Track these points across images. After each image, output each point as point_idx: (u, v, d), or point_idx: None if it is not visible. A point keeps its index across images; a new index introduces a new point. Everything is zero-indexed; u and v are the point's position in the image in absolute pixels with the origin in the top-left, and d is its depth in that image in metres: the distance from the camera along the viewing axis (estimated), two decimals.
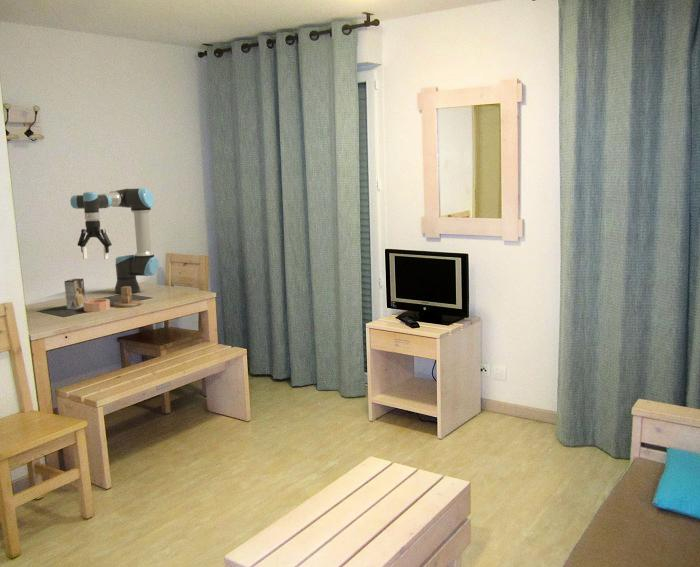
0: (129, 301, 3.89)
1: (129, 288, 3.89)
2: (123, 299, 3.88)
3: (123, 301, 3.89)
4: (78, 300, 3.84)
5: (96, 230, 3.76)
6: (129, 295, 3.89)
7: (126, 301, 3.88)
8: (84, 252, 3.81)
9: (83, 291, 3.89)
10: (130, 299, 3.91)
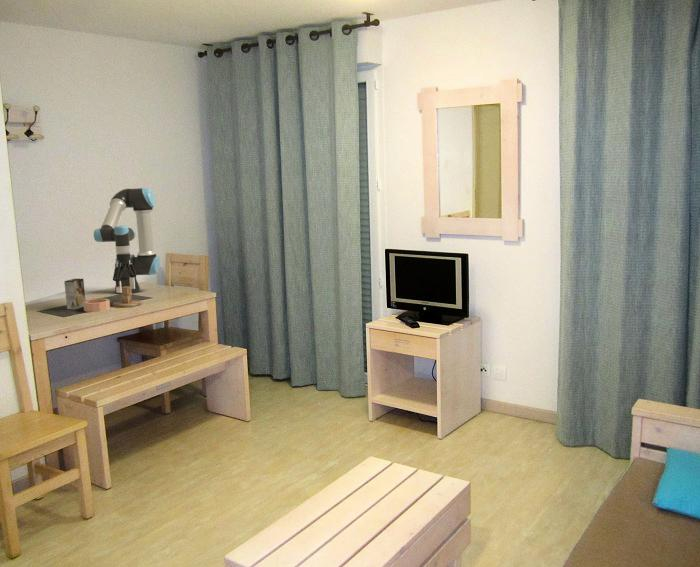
0: (129, 301, 3.89)
1: (129, 288, 3.89)
2: (123, 299, 3.88)
3: (123, 301, 3.89)
4: (78, 300, 3.84)
5: None
6: (129, 295, 3.89)
7: (126, 301, 3.88)
8: (130, 282, 3.95)
9: (83, 291, 3.89)
10: (130, 299, 3.91)
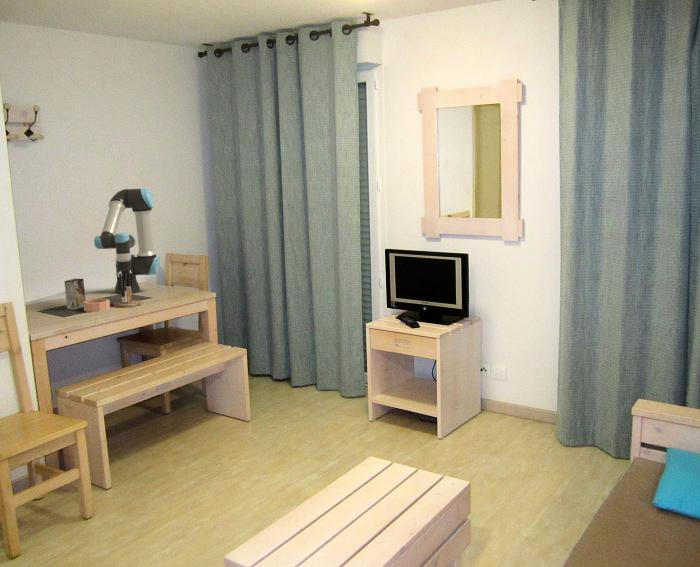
0: (129, 301, 3.89)
1: (129, 288, 3.89)
2: None
3: None
4: (78, 300, 3.84)
5: None
6: (129, 295, 3.89)
7: None
8: None
9: (83, 291, 3.89)
10: (130, 299, 3.91)
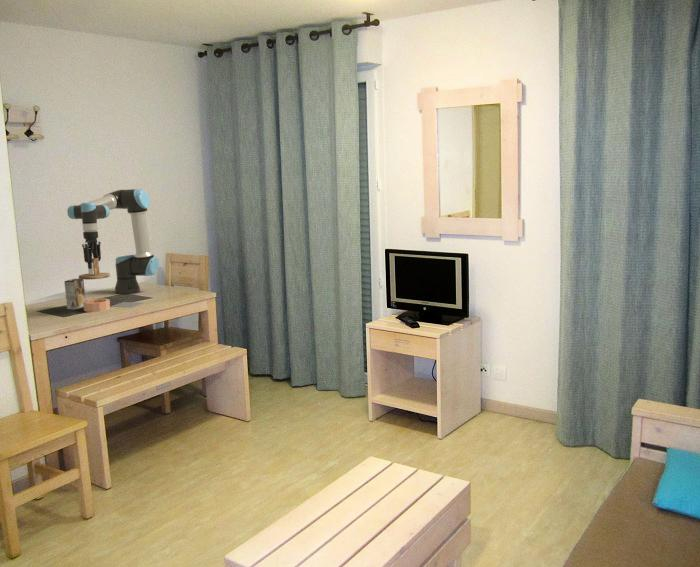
0: (96, 273, 3.75)
1: (96, 260, 3.75)
2: None
3: None
4: (78, 300, 3.84)
5: None
6: (96, 267, 3.75)
7: None
8: None
9: (83, 291, 3.89)
10: (98, 272, 3.77)
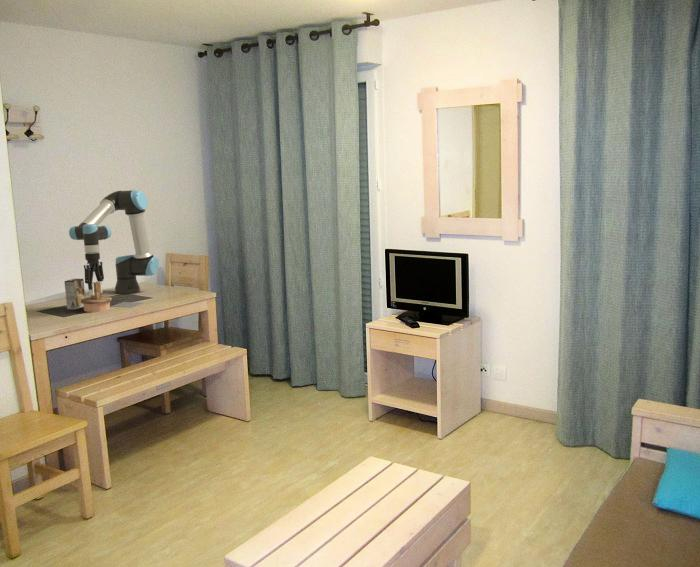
0: (98, 297, 3.78)
1: (98, 284, 3.77)
2: (92, 295, 3.77)
3: (92, 297, 3.77)
4: (78, 300, 3.84)
5: None
6: (98, 291, 3.78)
7: (95, 297, 3.77)
8: None
9: (83, 291, 3.89)
10: (100, 296, 3.79)
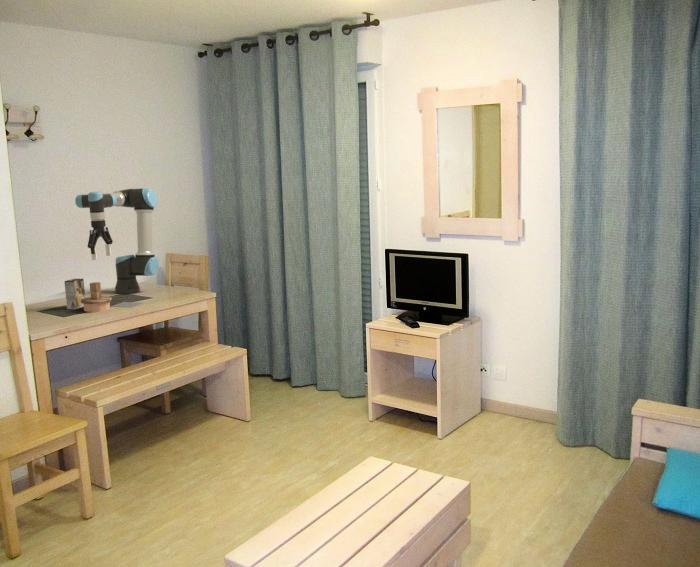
0: (98, 297, 3.78)
1: (98, 284, 3.77)
2: (92, 295, 3.77)
3: (92, 297, 3.77)
4: (78, 300, 3.84)
5: None
6: (98, 291, 3.78)
7: (95, 297, 3.77)
8: (106, 249, 3.91)
9: (83, 291, 3.89)
10: (100, 296, 3.79)
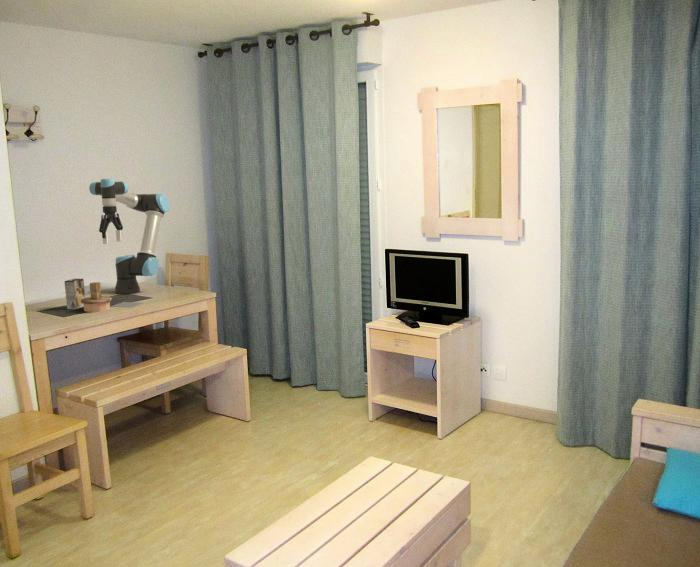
0: (98, 297, 3.78)
1: (98, 284, 3.77)
2: (92, 295, 3.77)
3: (92, 297, 3.77)
4: (78, 300, 3.84)
5: None
6: (98, 291, 3.78)
7: (95, 297, 3.77)
8: (117, 235, 4.04)
9: (83, 291, 3.89)
10: (100, 296, 3.79)
